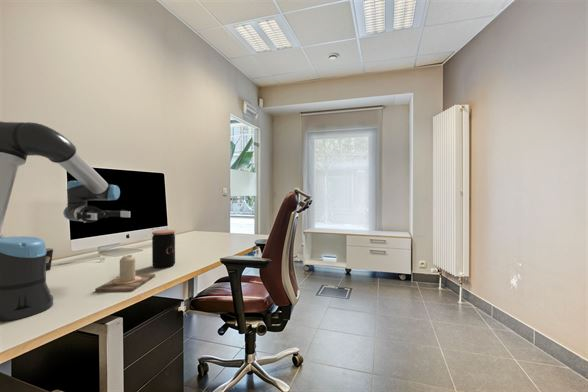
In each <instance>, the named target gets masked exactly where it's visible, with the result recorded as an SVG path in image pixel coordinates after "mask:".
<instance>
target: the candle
mask: <svg viewBox="0 0 588 392" xmlns="http://www.w3.org/2000/svg"><path fill="white" fill-rule="evenodd" d="M135 274H136V258H135V257H134V256H133V255H132V254H129V255H123V256H122V257H121V258H120V259H119V276H120V281H121V282H127V281H132V280H134V279H135Z"/></svg>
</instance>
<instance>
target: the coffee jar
mask: <svg viewBox="0 0 588 392" xmlns="http://www.w3.org/2000/svg"><path fill="white" fill-rule="evenodd" d="M175 232H176V230H174V229H159V230H153V231H152V233H151V234H152V237H151V240H152V241H151V246H152V247H151V250H152V251H151V252H152V253H151V254H152V255H151V256H152V257H151V258H152V259H151V260H152V266H153V268H155V269H168V268H171V267H174V265H175V264H176V235H175Z"/></svg>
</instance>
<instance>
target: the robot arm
mask: <svg viewBox="0 0 588 392" xmlns="http://www.w3.org/2000/svg"><path fill="white" fill-rule="evenodd" d="M77 150H78V149H77V146H75V145H74V143H72V142H71V140H69V139H68V138H67V137H66V136H64V135H63V134H61V133H60V132H58V131H56V130H55V129H53V128H51V127H49V126H46V125H45V124H41V123H37V122H21V121H20V122H19V121H16V122H14V121H1V120H0V322H6V321H13V320H19V319H23V318H27V317H30V316H34V315H36V314H37V315H38V314H40V313H42V312H44V311H46V310H48V309H50V308H51V307H53V306H54V297H53V295H52V294H51V291H50V288H49V286H48V284H47V271H46V252H47V251H46V242H45V240H43V239H42V238H39V237H36V236H35V237H34V236H25V235H24V236H5V235H3V234H2V233H1V231H2V228H3V224H4V220H5V216H6V213H7V209H8V206H9V202H10V199H11V195H12V191H13V188H14V183H15V180H16V177H17V172H18V170H19V167H20V166H23V165H25V164H26V162H27V158H28V157H29V156H38V157H42V158H46V159H48V160H49V161H50V162H52V163H54V164H58V165H60V166H61V167H62V168H63V169H64V170H65V171H66V172H67V173H68V174H70V175H71V176H72V177H74V178H75V179H76V180H70V181H68V182H67V183H66V184H67V188H66V195H67V196H66V199H67V201H66V202H67V204H66V207H65V208H64V209H63V213H62V214H63V217H64V218H65V219H66V220H69V221H72V222H73V221H74V222H83V223H84V224H85V223H94V222H97V221H98V220H100V219H107V218H109V217H113V218H114V217H120V218H131V211H130V210H129V211H128V210H125V209H121V210H106V209H105V210H104V209H103V210H102V209H100V208H99V207H97V206H95V205H88V201H117V200H118V199H119V198H120V195H121V190H120V187H119V186H118V185H117V184H116V185H115V184H109V183H108V182H107V181H106V180H105V179H104V178H103V177H102V176H101V174H99V173H98V172H97V171H96V170H95V169H94V168H93V167H92V166H91V165H90V164H89V163H88V162H87V161H86V160H85V159H84V158H83V157H82V156H81V155H80V153H78V152H77Z"/></svg>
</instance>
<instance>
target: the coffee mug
mask: <svg viewBox="0 0 588 392" xmlns="http://www.w3.org/2000/svg"><path fill="white" fill-rule="evenodd" d="M45 248H46V247H45ZM46 251H47V252H46V272H49V271H50V270H51V268H52V260H53V256H54V255H53V252H54V248H51V247H50V248H49V247H47V248H46Z"/></svg>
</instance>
